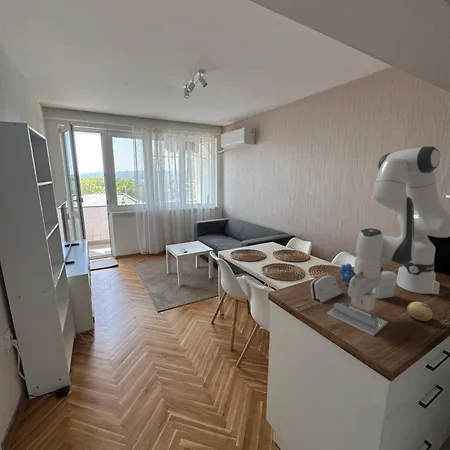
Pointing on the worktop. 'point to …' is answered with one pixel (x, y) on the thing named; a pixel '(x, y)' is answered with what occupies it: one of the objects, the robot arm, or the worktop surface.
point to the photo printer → (386, 285)
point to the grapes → (347, 273)
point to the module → (365, 301)
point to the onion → (420, 311)
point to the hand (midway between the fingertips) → (362, 301)
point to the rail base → (380, 322)
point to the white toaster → (325, 288)
